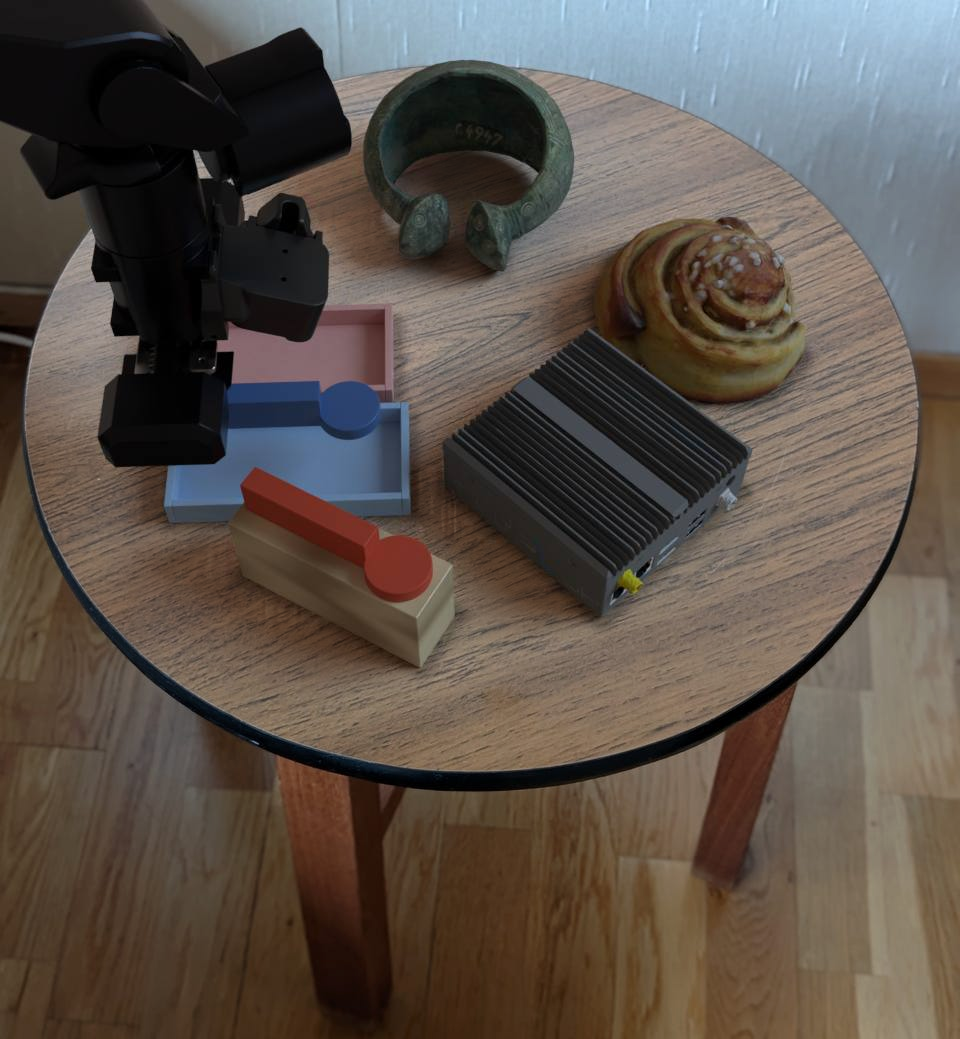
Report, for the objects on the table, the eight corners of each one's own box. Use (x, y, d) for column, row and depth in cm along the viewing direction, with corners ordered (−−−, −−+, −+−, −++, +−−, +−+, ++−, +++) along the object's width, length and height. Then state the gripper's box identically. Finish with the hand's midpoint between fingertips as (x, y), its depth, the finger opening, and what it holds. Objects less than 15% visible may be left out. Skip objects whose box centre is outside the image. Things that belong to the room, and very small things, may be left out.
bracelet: (349, 275, 94) (337, 166, 86) (381, 131, 103) (372, 19, 94) (561, 292, 93) (570, 184, 85) (577, 146, 102) (585, 34, 93)
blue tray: (169, 523, 83) (163, 506, 81) (179, 426, 87) (173, 409, 85) (410, 515, 83) (409, 498, 82) (409, 419, 87) (408, 401, 86)
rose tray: (165, 415, 88) (159, 397, 86) (175, 328, 92) (169, 309, 90) (394, 407, 88) (392, 389, 86) (393, 321, 92) (391, 303, 90)
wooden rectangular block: (455, 616, 79) (453, 564, 74) (420, 668, 78) (416, 619, 72) (279, 528, 83) (266, 472, 78) (242, 576, 81) (226, 522, 76)
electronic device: (613, 631, 79) (621, 588, 75) (436, 481, 85) (434, 433, 80) (753, 503, 84) (768, 456, 80) (577, 369, 90) (582, 319, 85)
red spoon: (445, 562, 74) (444, 538, 72) (410, 613, 73) (408, 591, 71) (272, 476, 78) (266, 451, 76) (234, 524, 76) (227, 499, 74)
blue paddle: (381, 389, 82) (378, 363, 80) (381, 439, 80) (378, 414, 78) (189, 395, 81) (181, 369, 79) (184, 446, 79) (176, 420, 77)
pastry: (762, 430, 87) (786, 350, 80) (557, 345, 91) (563, 262, 84) (835, 297, 93) (862, 212, 87) (640, 222, 97) (652, 136, 90)
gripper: (305, 356, 62) (335, 537, 75) (316, 89, 72) (340, 290, 85) (62, 363, 61) (135, 544, 74) (108, 94, 72) (164, 294, 85)
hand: (202, 409), depth 80 cm, fingers closed on blue paddle, 1 cm apart
